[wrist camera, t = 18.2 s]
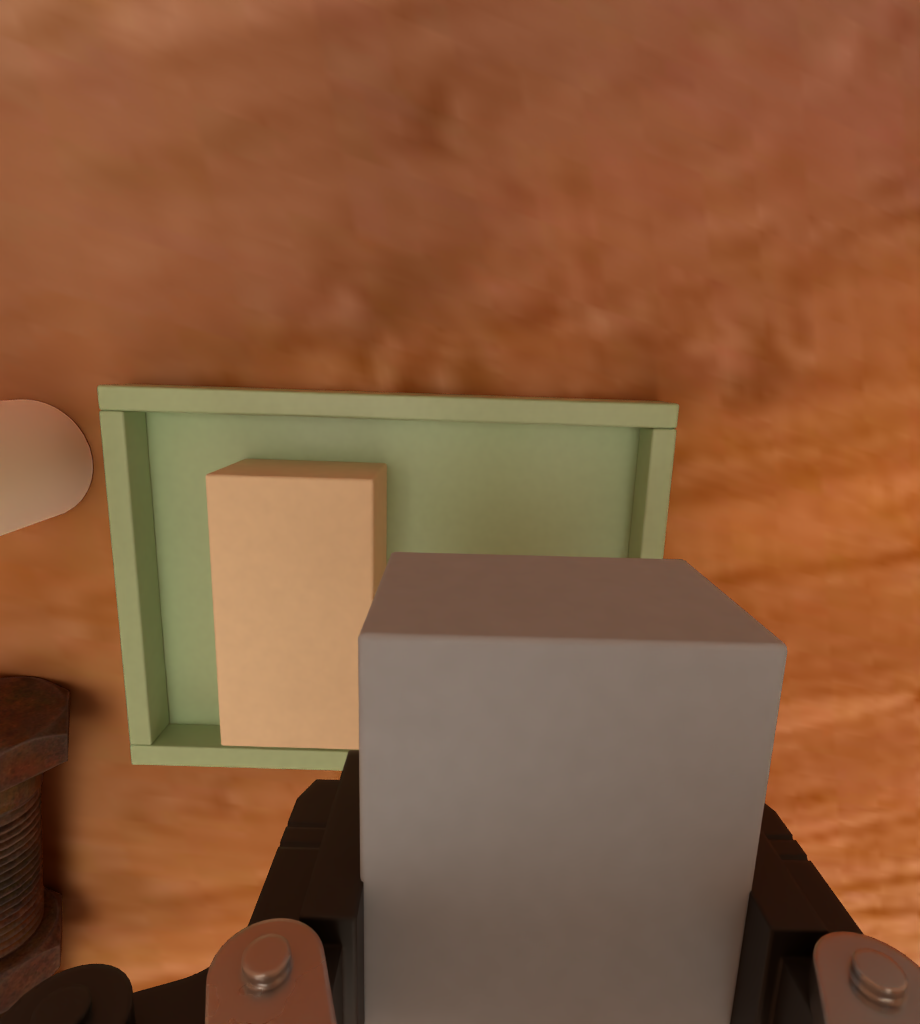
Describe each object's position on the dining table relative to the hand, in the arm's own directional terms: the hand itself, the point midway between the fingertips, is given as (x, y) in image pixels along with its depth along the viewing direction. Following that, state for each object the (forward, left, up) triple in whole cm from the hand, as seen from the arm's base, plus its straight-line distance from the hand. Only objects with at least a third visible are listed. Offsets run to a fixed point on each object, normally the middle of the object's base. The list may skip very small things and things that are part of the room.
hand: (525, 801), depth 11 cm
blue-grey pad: (0, 0, 0) cm, 0 cm away
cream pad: (0, -6, -12) cm, 14 cm away
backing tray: (0, -4, -13) cm, 13 cm away
